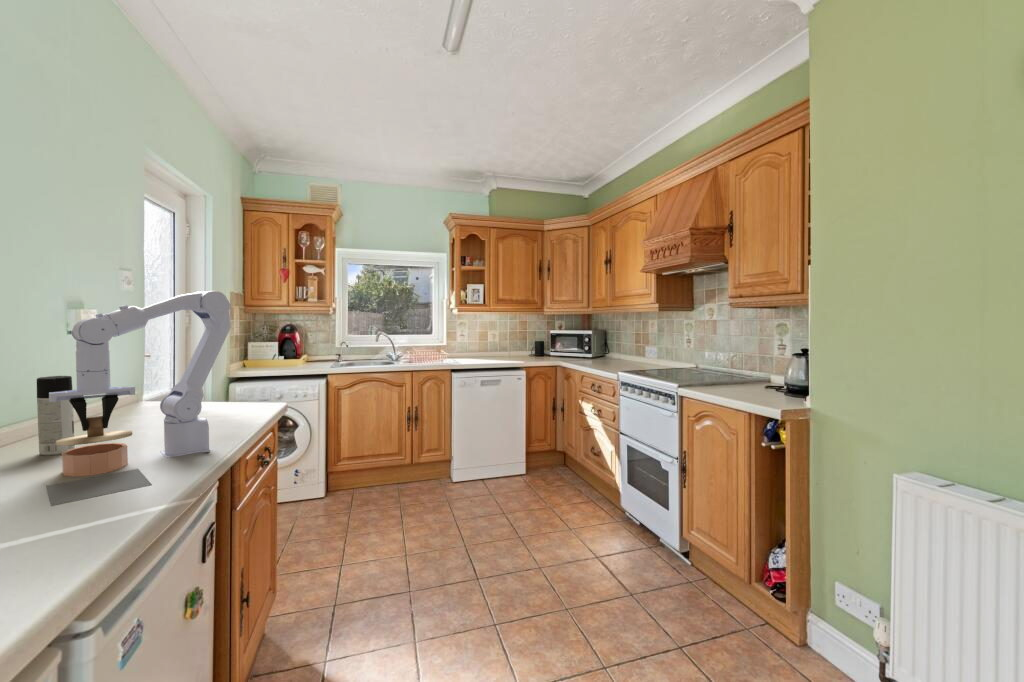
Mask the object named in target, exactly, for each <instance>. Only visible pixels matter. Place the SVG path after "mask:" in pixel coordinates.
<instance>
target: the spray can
mask: <svg viewBox="0 0 1024 682" xmlns="http://www.w3.org/2000/svg"><path fill="white" fill-rule="evenodd" d="M72 378H73V377H72V376H71V375H53V376H52V375H51V376H42V377H41V376H40V377H37V378H36V405H37V406H36V408H37V429H38V431H37V432H38V433H37V434H38V452H39V455H40V456H55V455H62V453H63V452H65V451H67V450H70V449H74V448H76V445H68V446H58V445H56V441H57V440H60V439H64V438H68V437H74V436H75V426H74V425H75V422H74V421H75V420H74V419H75V418H74V408H73V406H72V405H71V403H70V402H69V400H64V401H57V402H50V401H49V393H50V392H61V391H70V390H73V379H72Z"/></svg>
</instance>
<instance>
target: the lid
mask: <svg viewBox="0 0 1024 682" xmlns="http://www.w3.org/2000/svg"><path fill="white" fill-rule="evenodd" d="M86 418H87V425H88V431H87V432H86V434H82V435H74V437H68V438H64V439H60V440H57V441H56V445H58V446H68V445H75V446H79V445H88V444H89V445H90V444H98V443H103V442H109V441H114V440H115V441H116V440H119V439H124V438H129V437H132V436H133V430H115V431H104V429H105V428H103V415H97V416H89V417H86Z"/></svg>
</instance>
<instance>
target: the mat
mask: <svg viewBox="0 0 1024 682" xmlns="http://www.w3.org/2000/svg"><path fill="white" fill-rule="evenodd" d="M152 485H153V484H152V483H151V481H150V480H149V479H148V478H147V477H146V476H145V475H144V474H143V472H141V470H140V469H139V468H136V469H135V468H134V469H129V470H125V471H119V472H113V473H107V474H106V473H105V474H103V475H102V474H101V475H96V476H95V475H94V476H92V477H85V478H78V479H75V480H70V481H69V480H68V481H64V482H58V483H54V484H52V483H51V484H47V485H45V486H46V492H47V495H48V499H49V503H50V506H51V507H54V506H58V505H59V506H60V505H62V504H68V503H72V502H78V501H82V500H86V499H92V498H97V497H102V496H105V495H110V494H111V495H112V494H115V493H121V492H125V491H131V490H134V489H141V488H145V487H149V486H152Z"/></svg>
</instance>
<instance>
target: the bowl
mask: <svg viewBox="0 0 1024 682" xmlns="http://www.w3.org/2000/svg"><path fill="white" fill-rule="evenodd" d="M128 459H129V457H128V445H127V444H126V443H124V442H123V443H120V442H105V443H103V442H102V443H94V444H89V445H88V444H87V445H83V446H82V445H81V446H79V447H75V448H74V449H70V450H67V451H65V452H63V453H62V454H61V465H62V466H61V467H62V468H61V469H62V471H61V472H62V475H63V477H64V476H66V477H74V478H75V477H87V476H95V475H100V474H101V475H102V474H106V473H110V472H113V471H118V470H120V469H122V468H124V467H126V466H127V465H128V464H129V463H128V462H129V461H128Z"/></svg>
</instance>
